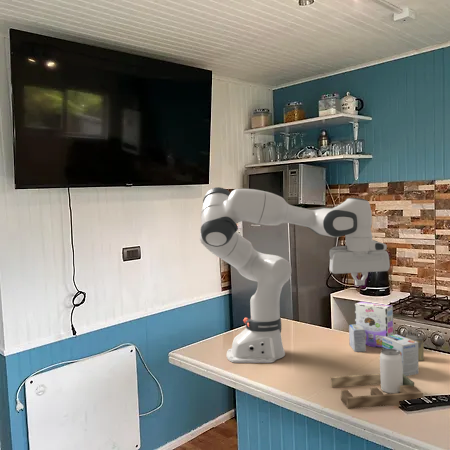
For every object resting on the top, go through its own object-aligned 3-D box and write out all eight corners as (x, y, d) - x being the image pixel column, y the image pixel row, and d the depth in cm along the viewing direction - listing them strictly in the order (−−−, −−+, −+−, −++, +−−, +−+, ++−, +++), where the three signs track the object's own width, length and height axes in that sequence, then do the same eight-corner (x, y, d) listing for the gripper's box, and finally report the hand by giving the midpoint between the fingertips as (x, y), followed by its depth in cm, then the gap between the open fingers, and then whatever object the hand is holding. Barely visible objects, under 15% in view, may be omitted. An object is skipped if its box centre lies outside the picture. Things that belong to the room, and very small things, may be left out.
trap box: (347, 408, 132) (347, 395, 132) (330, 386, 148) (330, 373, 147) (422, 403, 133) (422, 389, 133) (397, 381, 149) (397, 369, 149)
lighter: (426, 360, 167) (425, 332, 167) (418, 362, 165) (418, 334, 165) (410, 354, 173) (409, 328, 173) (402, 356, 172) (402, 329, 171)
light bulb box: (381, 366, 163) (381, 336, 162) (397, 363, 165) (396, 333, 164) (403, 377, 153) (402, 345, 152) (419, 373, 155) (419, 342, 154)
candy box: (394, 346, 183) (393, 305, 182) (387, 350, 179) (386, 308, 178) (362, 339, 193) (361, 300, 192) (354, 343, 189) (354, 303, 188)
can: (401, 385, 146) (399, 348, 145) (404, 394, 139) (403, 355, 139) (379, 385, 147) (378, 348, 146) (382, 394, 141) (380, 355, 140)
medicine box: (366, 351, 178) (365, 329, 178) (354, 352, 178) (353, 330, 178) (360, 345, 186) (360, 323, 186) (349, 345, 186) (348, 324, 186)
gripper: (332, 247, 155) (333, 288, 156) (391, 244, 157) (392, 285, 158) (326, 245, 162) (327, 285, 162) (383, 242, 163) (384, 282, 164)
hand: (359, 285), depth 160 cm, fingers closed
